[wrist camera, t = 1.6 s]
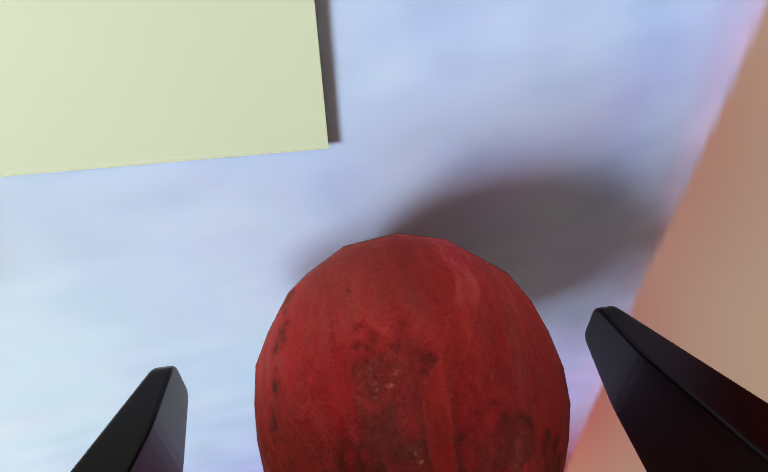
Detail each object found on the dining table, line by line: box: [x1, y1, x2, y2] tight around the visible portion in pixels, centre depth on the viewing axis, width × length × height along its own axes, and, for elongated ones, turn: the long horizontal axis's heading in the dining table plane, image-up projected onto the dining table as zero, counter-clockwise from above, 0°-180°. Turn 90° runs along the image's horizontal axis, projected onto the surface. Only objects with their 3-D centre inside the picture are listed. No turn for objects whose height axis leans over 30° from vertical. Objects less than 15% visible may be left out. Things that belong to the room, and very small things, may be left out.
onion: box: [254, 233, 570, 472], centre depth 9 cm, size 6×6×8 cm
